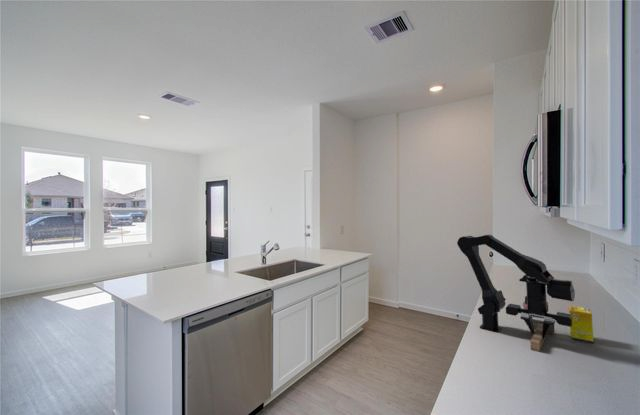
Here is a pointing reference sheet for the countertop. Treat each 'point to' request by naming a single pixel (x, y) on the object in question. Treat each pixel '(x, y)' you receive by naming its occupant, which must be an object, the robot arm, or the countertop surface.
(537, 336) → the bar
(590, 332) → the supplement box
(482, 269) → the robot arm
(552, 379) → the countertop surface
